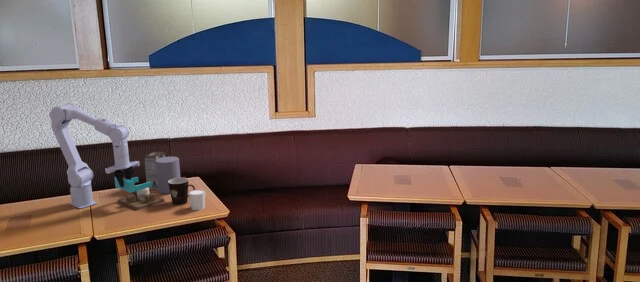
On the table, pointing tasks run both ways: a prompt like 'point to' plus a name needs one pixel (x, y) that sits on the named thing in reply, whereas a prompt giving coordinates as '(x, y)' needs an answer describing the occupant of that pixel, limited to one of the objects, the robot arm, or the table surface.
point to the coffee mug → (179, 190)
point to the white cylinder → (197, 199)
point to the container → (166, 172)
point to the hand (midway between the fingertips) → (124, 185)
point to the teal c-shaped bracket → (132, 185)
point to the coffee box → (152, 168)
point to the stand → (140, 199)
